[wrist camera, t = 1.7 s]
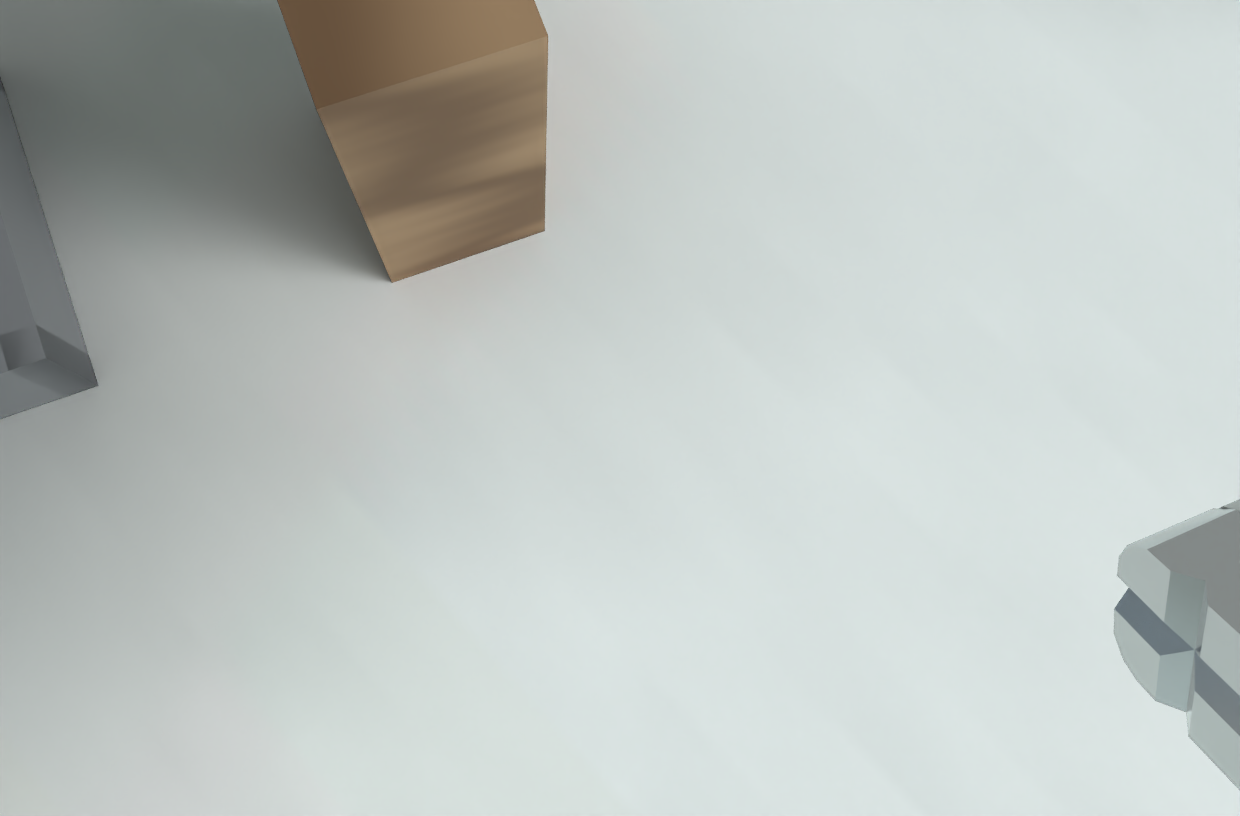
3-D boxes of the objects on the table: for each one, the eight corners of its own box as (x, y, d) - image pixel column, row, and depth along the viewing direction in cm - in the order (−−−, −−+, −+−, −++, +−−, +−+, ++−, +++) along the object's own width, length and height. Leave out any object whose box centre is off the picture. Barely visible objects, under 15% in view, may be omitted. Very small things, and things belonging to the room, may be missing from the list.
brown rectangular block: (470, 37, 30) (438, -244, 20) (544, 231, 29) (548, 36, 19) (320, 85, 30) (212, -180, 20) (392, 283, 29) (316, 109, 19)
